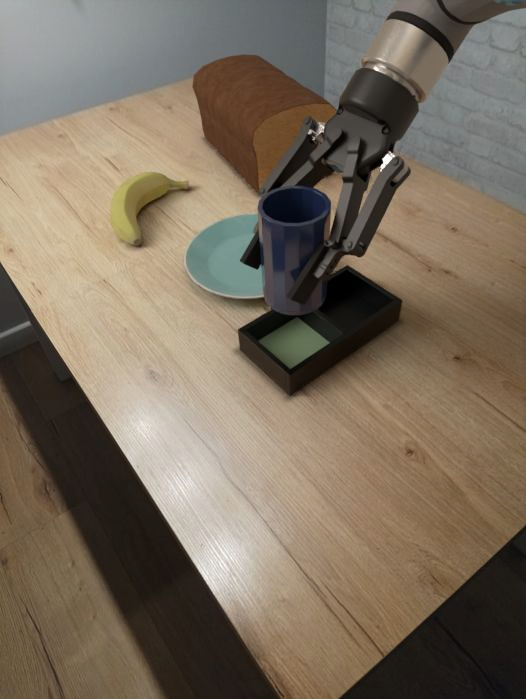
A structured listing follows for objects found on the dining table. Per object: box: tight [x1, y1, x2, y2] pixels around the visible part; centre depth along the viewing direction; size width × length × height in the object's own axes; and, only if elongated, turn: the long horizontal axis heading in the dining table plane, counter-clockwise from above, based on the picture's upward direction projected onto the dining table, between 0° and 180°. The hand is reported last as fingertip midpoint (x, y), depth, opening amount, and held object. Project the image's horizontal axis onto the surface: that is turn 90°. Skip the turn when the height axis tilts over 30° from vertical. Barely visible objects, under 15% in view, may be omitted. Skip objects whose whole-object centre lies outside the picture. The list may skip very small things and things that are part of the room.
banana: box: [110, 171, 190, 247], centre depth 95 cm, size 14×6×20 cm
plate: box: [183, 212, 264, 300], centre depth 83 cm, size 22×22×3 cm
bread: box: [192, 54, 338, 193], centre depth 103 cm, size 18×30×16 cm, turn 26°
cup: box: [256, 186, 332, 315], centre depth 57 cm, size 7×7×12 cm
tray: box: [237, 264, 404, 397], centre depth 71 cm, size 11×20×4 cm, turn 129°
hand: (271, 282), depth 57 cm, fingers closed on cup, 7 cm apart
